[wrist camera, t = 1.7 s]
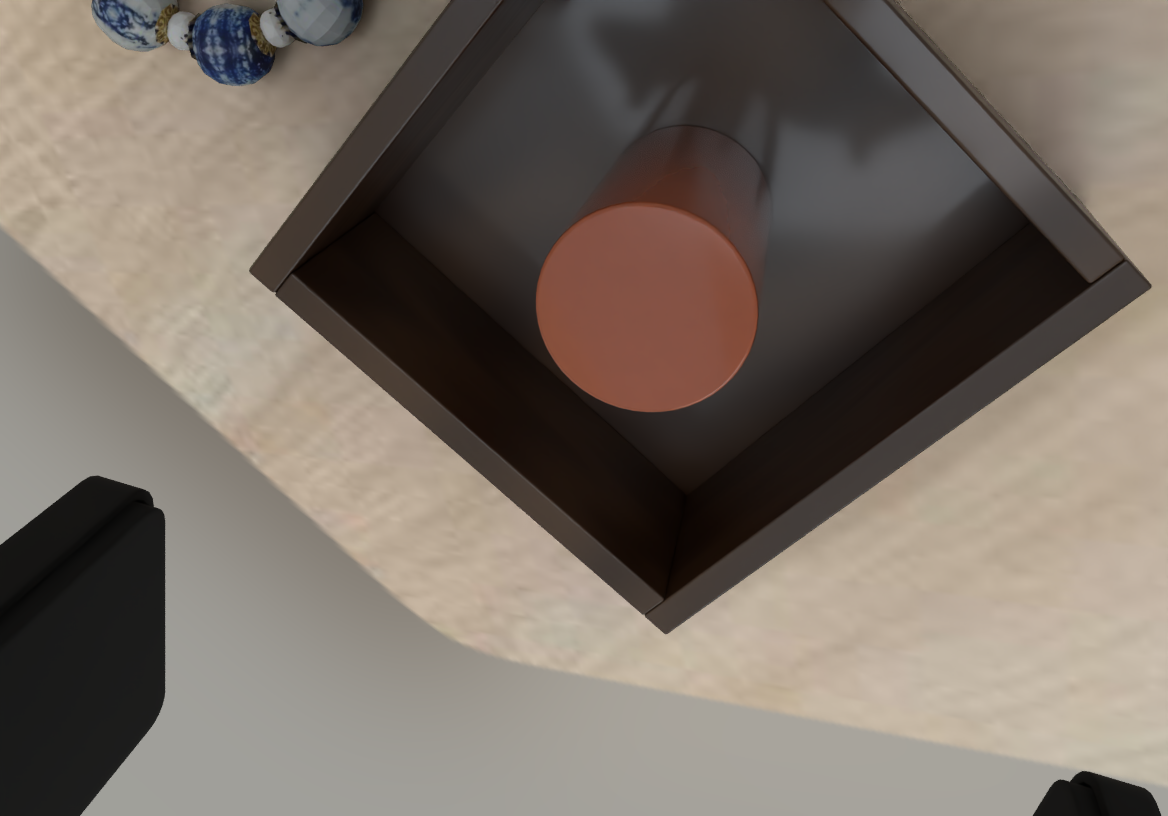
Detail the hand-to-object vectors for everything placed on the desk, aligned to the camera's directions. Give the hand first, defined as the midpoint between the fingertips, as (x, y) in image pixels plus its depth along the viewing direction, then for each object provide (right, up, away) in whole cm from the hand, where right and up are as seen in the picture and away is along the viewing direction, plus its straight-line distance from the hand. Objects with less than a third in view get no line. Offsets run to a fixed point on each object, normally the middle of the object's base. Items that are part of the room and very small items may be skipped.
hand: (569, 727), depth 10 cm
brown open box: (+3, +9, +16) cm, 18 cm away
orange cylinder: (+3, +8, +15) cm, 18 cm away
